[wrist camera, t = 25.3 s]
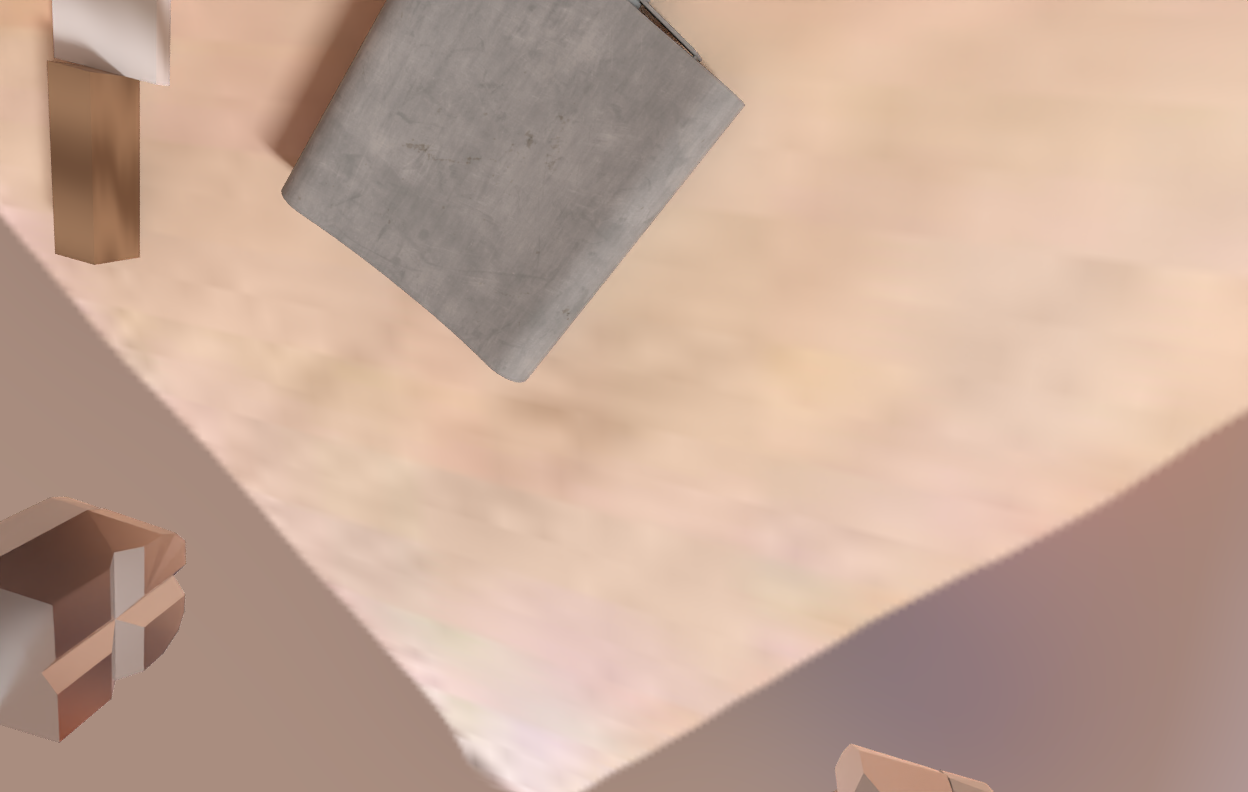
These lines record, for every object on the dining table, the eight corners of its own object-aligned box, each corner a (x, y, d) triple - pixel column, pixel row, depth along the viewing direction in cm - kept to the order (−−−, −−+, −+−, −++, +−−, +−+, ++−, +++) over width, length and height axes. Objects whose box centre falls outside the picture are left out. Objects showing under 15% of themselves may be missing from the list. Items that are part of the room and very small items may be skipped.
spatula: (168, 265, 42) (124, 273, 39) (76, 239, 43) (26, 245, 40) (172, -82, 36) (120, -103, 33) (65, -108, 37) (4, -131, 34)
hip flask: (267, 188, 36) (487, -214, 29) (314, 184, 40) (518, -172, 33) (516, 390, 37) (785, 51, 30) (538, 367, 41) (781, 63, 34)
